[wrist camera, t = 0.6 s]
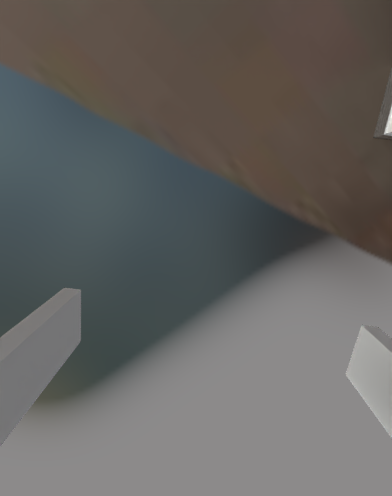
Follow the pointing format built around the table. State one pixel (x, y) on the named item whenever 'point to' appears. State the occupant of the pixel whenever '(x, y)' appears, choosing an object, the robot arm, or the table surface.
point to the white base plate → (385, 113)
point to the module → (390, 126)
